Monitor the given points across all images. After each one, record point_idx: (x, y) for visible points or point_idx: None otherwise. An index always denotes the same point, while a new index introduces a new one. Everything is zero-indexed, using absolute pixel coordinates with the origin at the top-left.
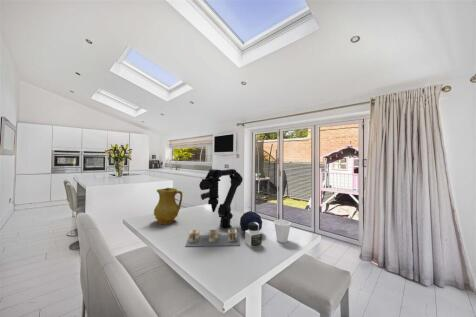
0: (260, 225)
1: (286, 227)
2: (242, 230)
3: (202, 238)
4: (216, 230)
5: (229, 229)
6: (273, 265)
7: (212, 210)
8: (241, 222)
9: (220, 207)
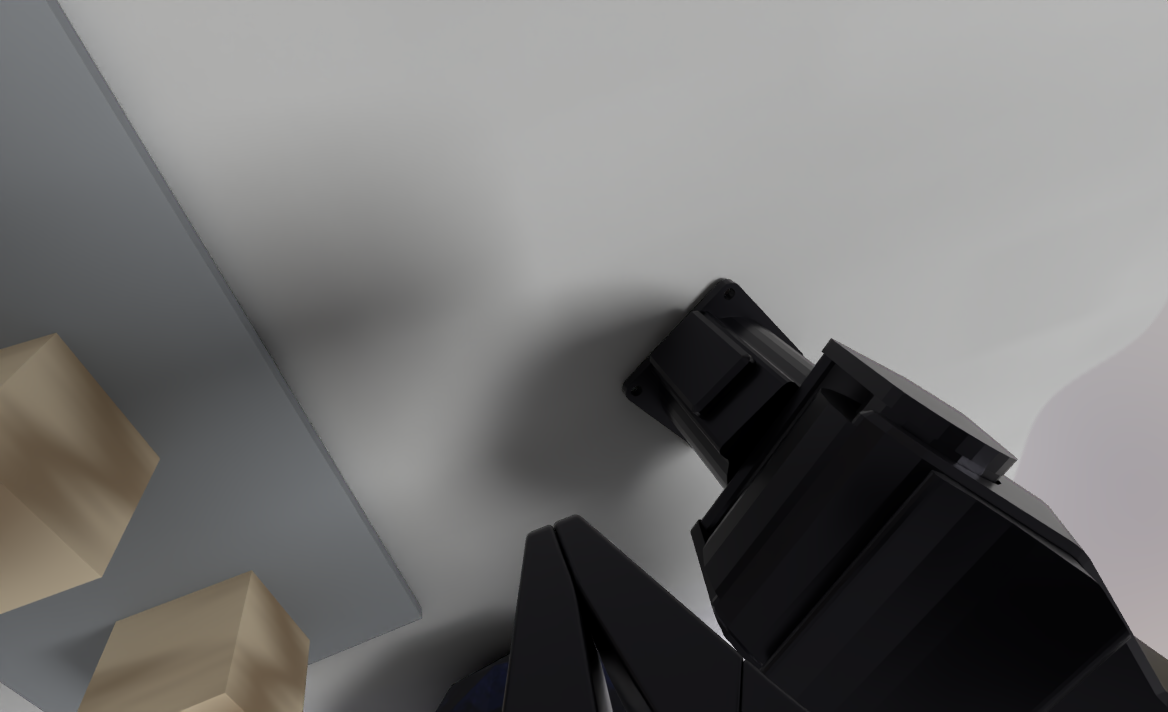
0: None
1: None
2: (476, 679)
3: None
4: (19, 576)
5: (237, 706)
6: None
7: (518, 595)
8: None
9: (967, 571)
